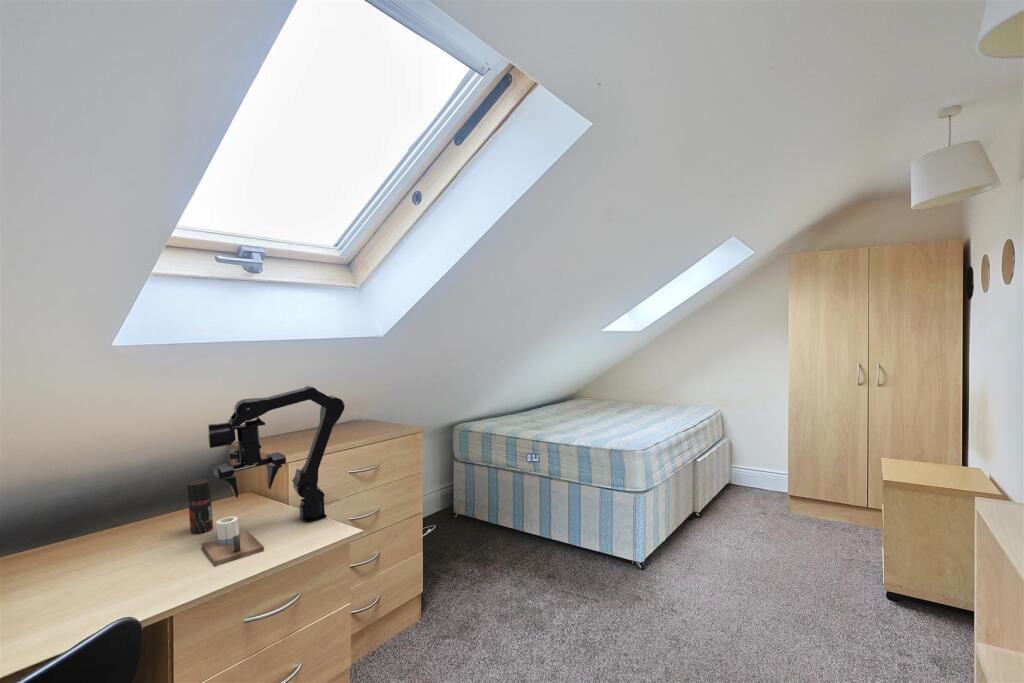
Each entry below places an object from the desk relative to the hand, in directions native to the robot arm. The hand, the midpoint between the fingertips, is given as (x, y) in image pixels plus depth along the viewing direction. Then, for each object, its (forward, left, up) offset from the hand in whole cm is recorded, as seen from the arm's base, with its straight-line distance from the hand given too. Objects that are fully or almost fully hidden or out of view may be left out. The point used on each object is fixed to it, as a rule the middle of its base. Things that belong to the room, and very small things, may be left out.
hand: (253, 492), depth 157 cm
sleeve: (+9, +4, -11) cm, 14 cm away
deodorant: (+12, -14, -12) cm, 21 cm away
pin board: (+9, +8, -12) cm, 17 cm away
